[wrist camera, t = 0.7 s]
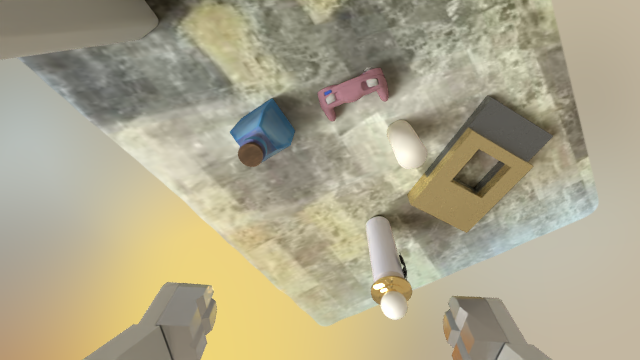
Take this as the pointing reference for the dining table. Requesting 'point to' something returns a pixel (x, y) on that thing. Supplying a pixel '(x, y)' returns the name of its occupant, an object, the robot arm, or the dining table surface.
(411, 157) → the pin
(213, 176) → the dining table surface
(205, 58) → the dining table surface
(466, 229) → the brass square frame
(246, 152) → the perfume bottle
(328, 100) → the video game controller
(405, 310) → the perfume bottle
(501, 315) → the robot arm
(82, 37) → the white trash bin
